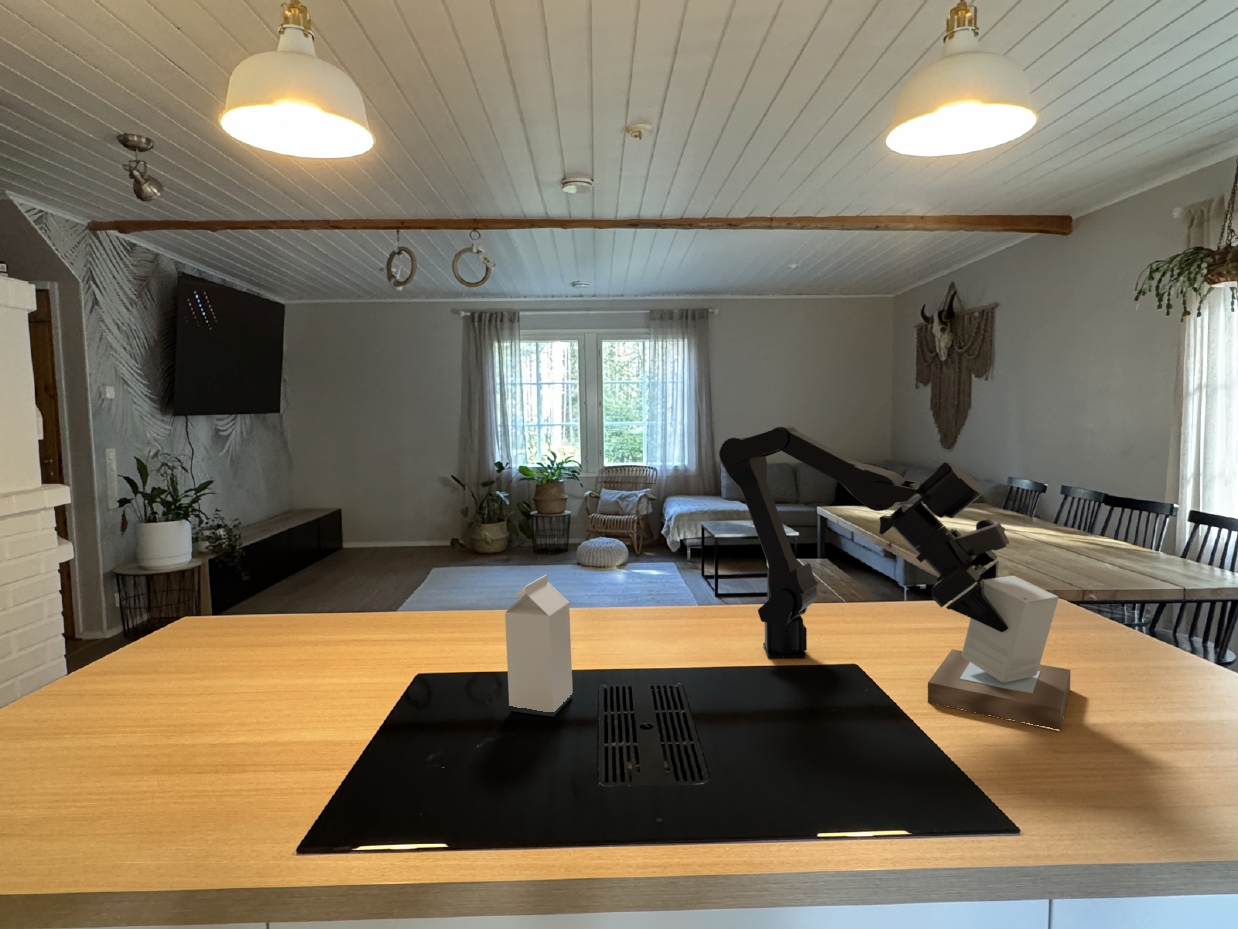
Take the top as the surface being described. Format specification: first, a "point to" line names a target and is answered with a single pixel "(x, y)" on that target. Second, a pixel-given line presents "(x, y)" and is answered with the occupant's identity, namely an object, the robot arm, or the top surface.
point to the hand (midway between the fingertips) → (1010, 621)
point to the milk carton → (539, 648)
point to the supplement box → (1011, 630)
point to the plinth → (1001, 692)
